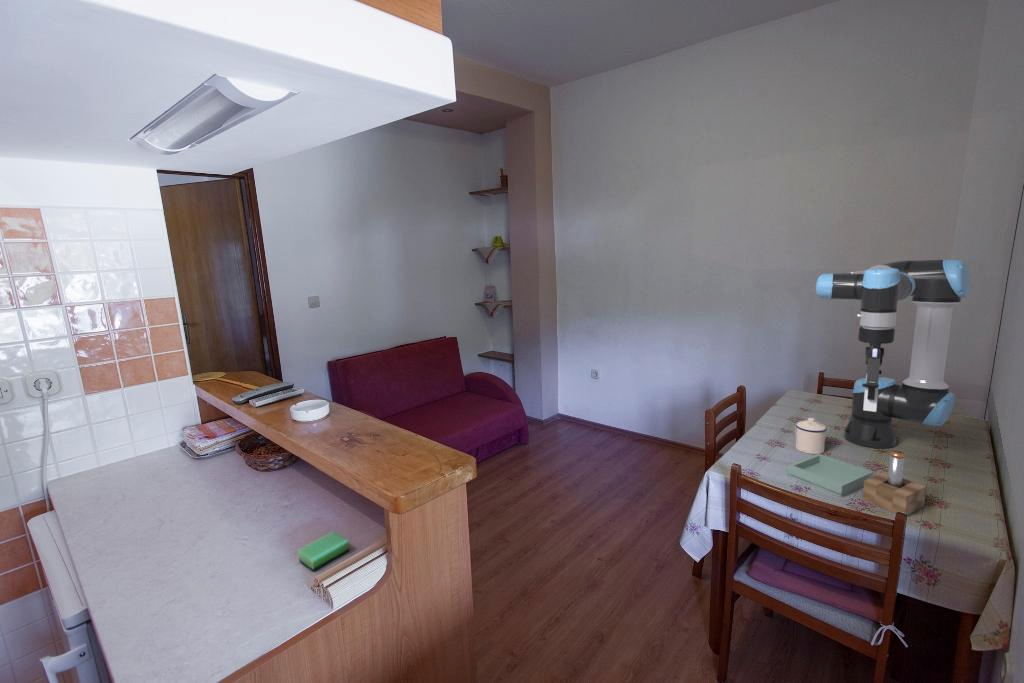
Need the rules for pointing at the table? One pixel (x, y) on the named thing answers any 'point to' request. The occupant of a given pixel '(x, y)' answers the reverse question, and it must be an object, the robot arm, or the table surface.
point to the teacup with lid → (810, 436)
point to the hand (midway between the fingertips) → (870, 403)
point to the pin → (896, 468)
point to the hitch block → (894, 494)
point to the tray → (829, 474)
